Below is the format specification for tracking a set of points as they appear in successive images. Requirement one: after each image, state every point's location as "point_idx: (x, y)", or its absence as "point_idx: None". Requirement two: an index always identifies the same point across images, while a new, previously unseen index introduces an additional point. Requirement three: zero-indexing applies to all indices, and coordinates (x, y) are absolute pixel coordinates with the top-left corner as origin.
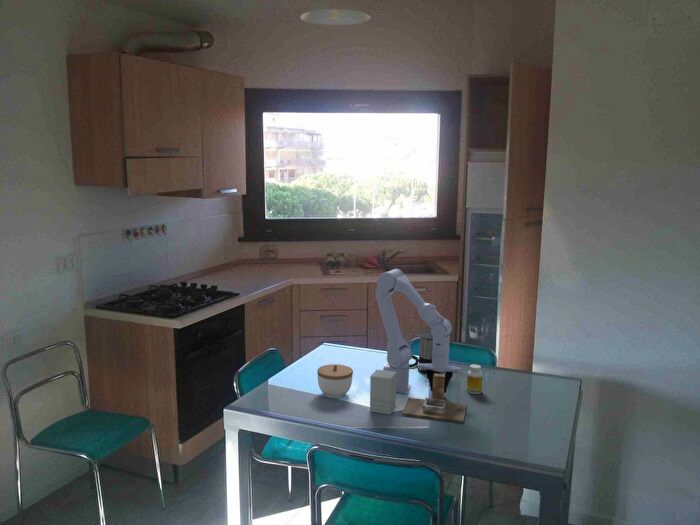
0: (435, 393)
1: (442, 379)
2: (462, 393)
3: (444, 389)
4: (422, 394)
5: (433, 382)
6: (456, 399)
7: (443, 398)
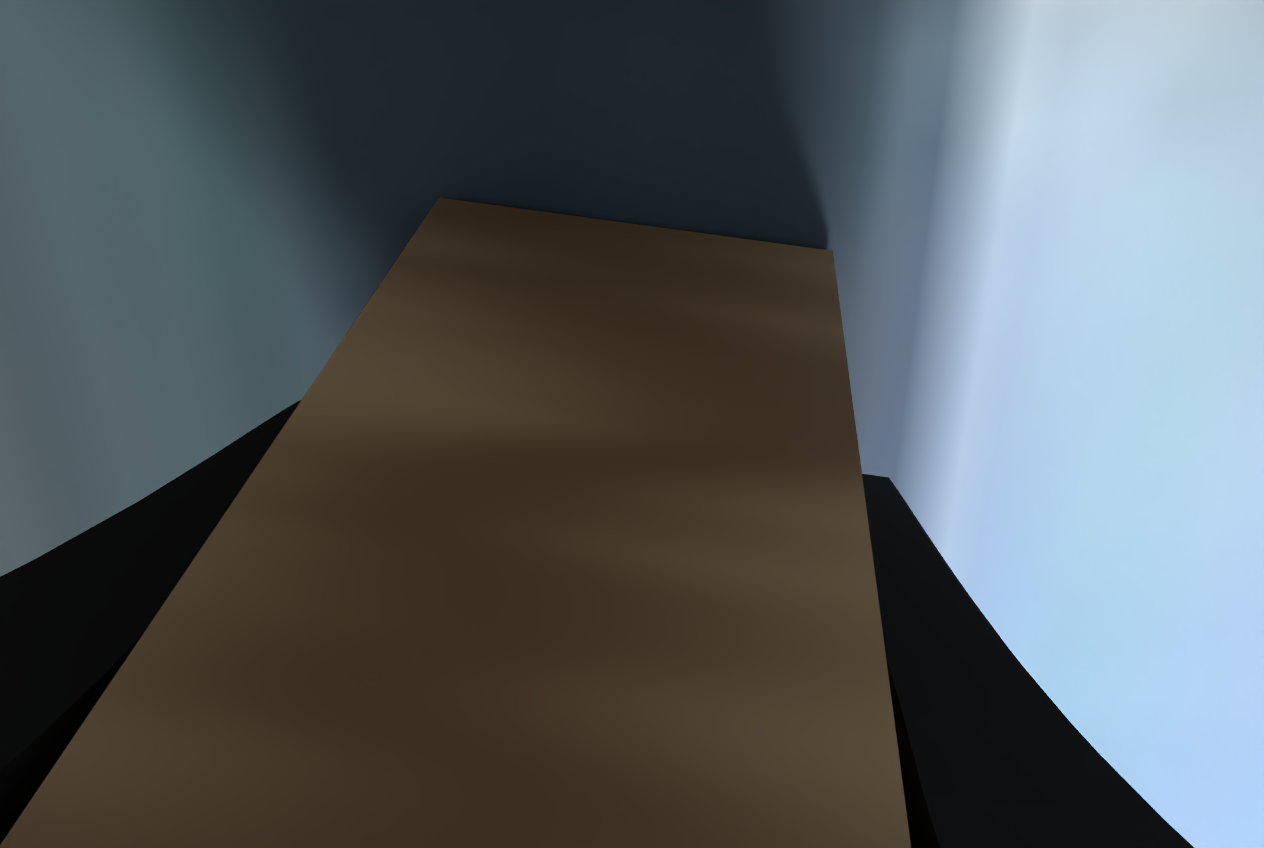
0: (712, 334)
1: (188, 815)
2: None
3: None
4: (1099, 565)
5: (847, 679)
6: (58, 341)
7: (423, 225)
